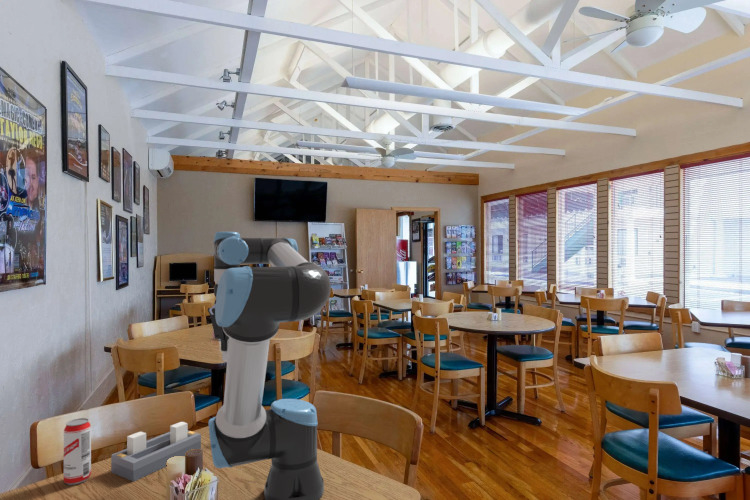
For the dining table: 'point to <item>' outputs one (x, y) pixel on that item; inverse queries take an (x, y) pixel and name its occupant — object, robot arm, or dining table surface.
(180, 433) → the tab
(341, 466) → the dining table surface
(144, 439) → the tab
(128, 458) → the switch bank
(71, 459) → the beer can
